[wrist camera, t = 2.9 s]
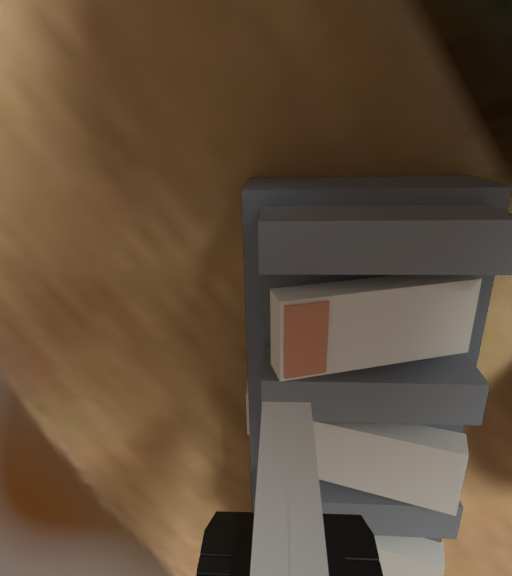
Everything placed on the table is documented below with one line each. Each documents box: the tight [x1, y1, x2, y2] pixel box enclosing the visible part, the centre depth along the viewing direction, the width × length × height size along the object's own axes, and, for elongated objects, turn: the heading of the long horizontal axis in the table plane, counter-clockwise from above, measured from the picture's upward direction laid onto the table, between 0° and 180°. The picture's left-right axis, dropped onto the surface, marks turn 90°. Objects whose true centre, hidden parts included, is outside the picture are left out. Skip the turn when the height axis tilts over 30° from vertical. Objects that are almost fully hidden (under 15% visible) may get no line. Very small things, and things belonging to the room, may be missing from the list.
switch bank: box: [242, 175, 512, 543], centre depth 26 cm, size 28×13×8 cm, turn 1°
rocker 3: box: [374, 535, 445, 576], centre depth 26 cm, size 4×10×2 cm, turn 91°
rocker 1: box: [270, 275, 482, 382], centre depth 20 cm, size 4×10×2 cm, turn 91°
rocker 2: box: [313, 421, 469, 516], centre depth 23 cm, size 4×10×2 cm, turn 91°
